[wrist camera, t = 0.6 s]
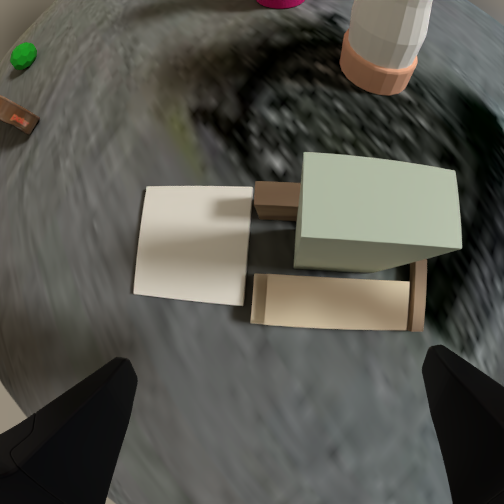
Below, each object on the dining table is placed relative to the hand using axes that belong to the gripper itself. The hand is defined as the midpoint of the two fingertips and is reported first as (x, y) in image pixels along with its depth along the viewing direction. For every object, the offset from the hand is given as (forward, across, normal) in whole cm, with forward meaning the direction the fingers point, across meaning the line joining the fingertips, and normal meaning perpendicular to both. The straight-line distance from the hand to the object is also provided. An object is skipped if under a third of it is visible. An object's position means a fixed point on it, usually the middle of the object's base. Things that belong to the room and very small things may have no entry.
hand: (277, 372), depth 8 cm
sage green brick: (+15, -4, +3) cm, 16 cm away
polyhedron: (+33, +38, -26) cm, 57 cm away
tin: (+26, +34, -14) cm, 45 cm away
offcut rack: (+14, -5, +4) cm, 15 cm away
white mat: (+16, +7, +2) cm, 17 cm away
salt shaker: (+24, -11, -12) cm, 29 cm away
